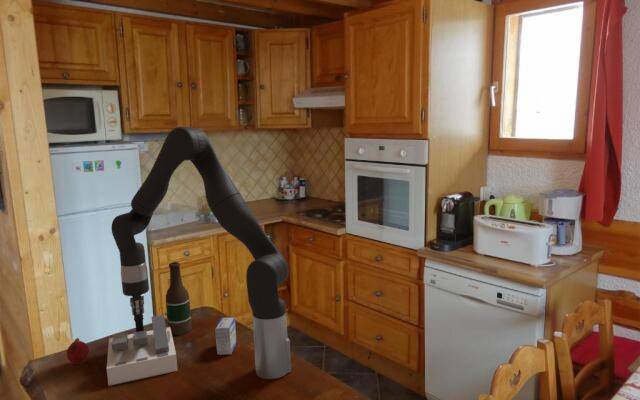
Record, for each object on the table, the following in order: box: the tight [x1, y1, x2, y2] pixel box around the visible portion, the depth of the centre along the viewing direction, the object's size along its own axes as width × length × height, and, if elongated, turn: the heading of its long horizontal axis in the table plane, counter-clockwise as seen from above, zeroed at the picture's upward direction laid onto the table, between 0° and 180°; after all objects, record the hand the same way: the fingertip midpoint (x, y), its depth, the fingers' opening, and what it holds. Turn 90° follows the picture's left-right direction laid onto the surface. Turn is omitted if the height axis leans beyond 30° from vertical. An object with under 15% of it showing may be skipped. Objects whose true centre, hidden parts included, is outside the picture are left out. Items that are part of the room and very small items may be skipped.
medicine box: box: [214, 317, 237, 356], centre depth 144 cm, size 8×4×9 cm, turn 179°
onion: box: [66, 337, 90, 365], centre depth 138 cm, size 6×6×8 cm
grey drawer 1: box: [151, 314, 169, 354], centre depth 139 cm, size 4×16×2 cm, turn 22°
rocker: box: [133, 329, 147, 346], centre depth 137 cm, size 4×16×2 cm, turn 22°
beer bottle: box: [165, 261, 193, 336], centre depth 157 cm, size 8×8×24 cm
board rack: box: [106, 326, 179, 387], centre depth 138 cm, size 18×20×8 cm
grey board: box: [112, 332, 128, 350], centre depth 135 cm, size 4×16×2 cm, turn 22°
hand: (140, 331), depth 144 cm, fingers closed
